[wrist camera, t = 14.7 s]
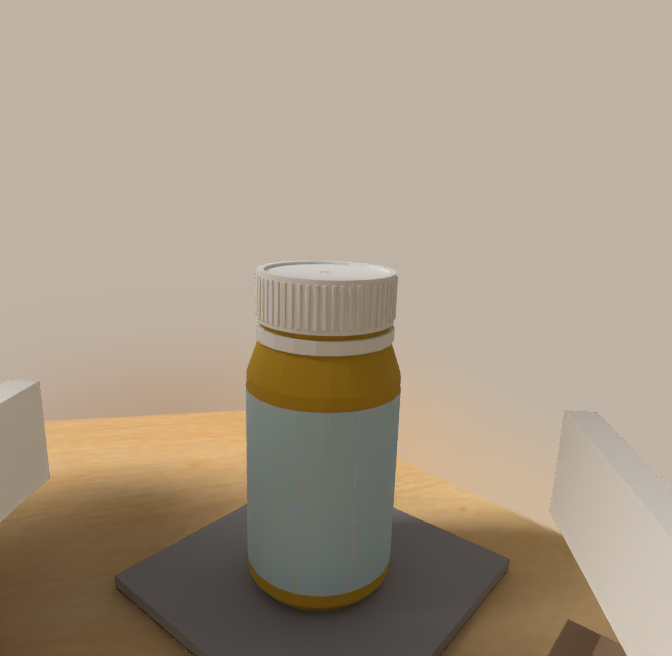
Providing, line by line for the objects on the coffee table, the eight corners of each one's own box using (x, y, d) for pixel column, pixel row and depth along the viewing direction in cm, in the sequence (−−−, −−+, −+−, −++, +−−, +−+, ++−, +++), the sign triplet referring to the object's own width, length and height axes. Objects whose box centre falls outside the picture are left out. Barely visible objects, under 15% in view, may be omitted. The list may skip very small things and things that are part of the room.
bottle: (342, 514, 32) (351, 257, 29) (417, 587, 26) (441, 277, 23) (227, 549, 29) (222, 262, 25) (285, 643, 23) (289, 287, 19)
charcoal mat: (115, 586, 27) (114, 576, 27) (309, 478, 37) (309, 470, 37) (339, 780, 18) (340, 766, 18) (508, 569, 29) (509, 559, 29)
